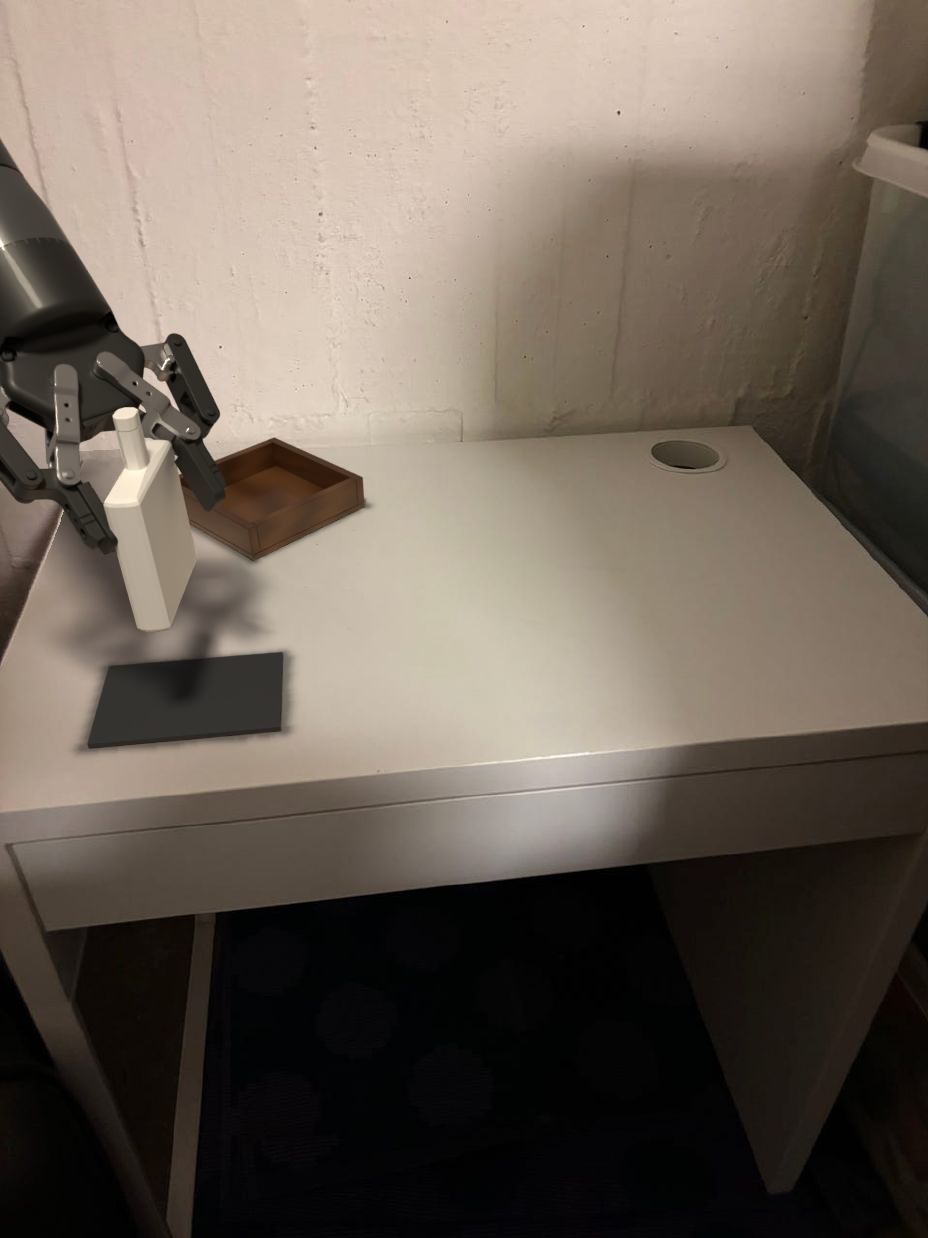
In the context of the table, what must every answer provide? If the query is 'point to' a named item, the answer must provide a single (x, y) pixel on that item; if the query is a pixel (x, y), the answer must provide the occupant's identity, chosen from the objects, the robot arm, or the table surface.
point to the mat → (189, 699)
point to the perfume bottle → (150, 525)
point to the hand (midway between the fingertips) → (167, 525)
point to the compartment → (275, 497)
